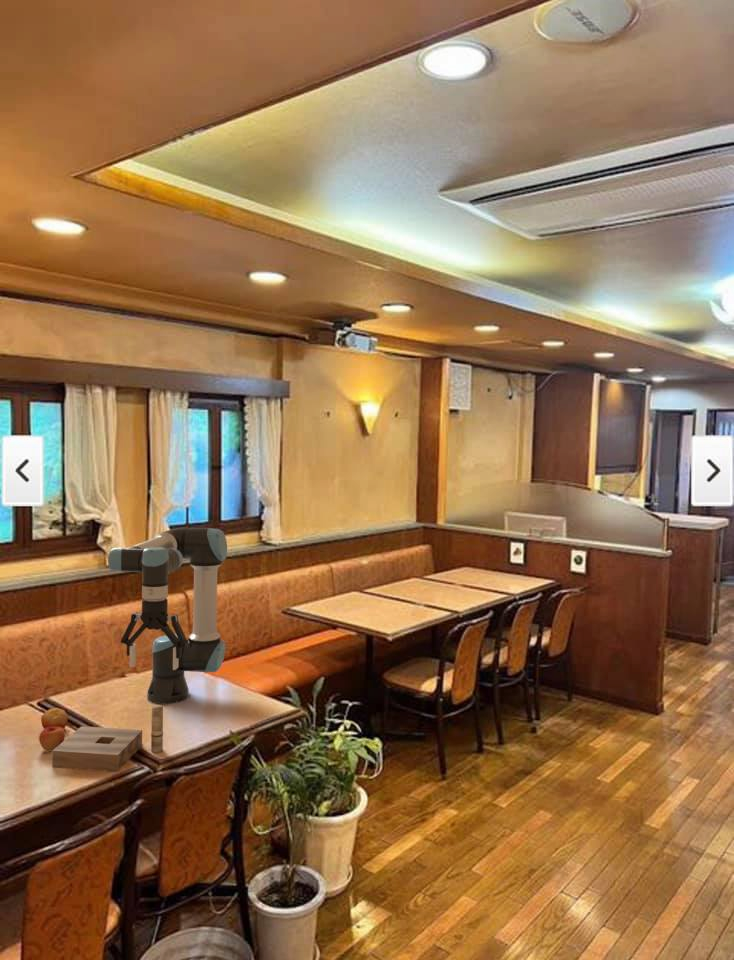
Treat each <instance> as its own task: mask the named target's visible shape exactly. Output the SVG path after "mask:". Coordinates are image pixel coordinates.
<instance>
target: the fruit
mask: <svg viewBox="0 0 734 960" xmlns="http://www.w3.org/2000/svg"><path fill="white" fill-rule="evenodd" d="M68 717H69V716H68V714H67V712H66V711H65V710H64V709H62V708H58V707H52V708H50V709H48V710H46V711H45V712H44V713H43V714H42V715H41V718H40V719H41V721H40V722H41V725H42V728H43V730H44V729H45V728H47V725H48V727H61V728H63V729H64V730H65V728H66V727H67V725H68Z"/></svg>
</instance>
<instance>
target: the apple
mask: <svg viewBox="0 0 734 960" xmlns="http://www.w3.org/2000/svg"><path fill="white" fill-rule="evenodd" d="M65 738H66V733H65V728H64V729H63V728H61V727H48V725H47V728H45V729H44V728H43V730H41V731H40V733H39V738H38V740H39V743H40V746H41V748H42V749H43V750H44V751H46V752H49V751H53V750H54V749H55V748H56V747H57V746H59V745H60V744H61V743H62V742H63V741H65V740H66V739H65Z"/></svg>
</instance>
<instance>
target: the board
mask: <svg viewBox="0 0 734 960" xmlns="http://www.w3.org/2000/svg"><path fill="white" fill-rule="evenodd" d="M142 746H143V729H134V728H133V729H131V728H129V729H128V728H118V727H117V728H115V727H100V726H99V727H98V726H85V725H84V726H83V725H82V726H80V727H79V728H78V729H77V730H76V731H74V732H73V733H72V734H71V735H70V736H68V737H67V738H66V739H64V741H63V742H62V743H61V744H60V745H59V746H57V747H56V748H55V749H54V750H51V751H52V753H51V754H52V755H51V757H52V758H51V760H52V762H51V767H52V768H56V769H57V768H58V769H71V768H74V770H86V769H91V770H90V771H101V770H106V772H116V773H118V772H119V771H121V769H122V768H123V767H124V766H125V764H126V763H128V761H129V760H130V759H131V758H132V757H133V756H134V755H135V754H136V753H137V752H138V751H139V749H140V748H141V747H142ZM75 768H77V769H75Z"/></svg>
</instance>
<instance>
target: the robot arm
mask: <svg viewBox="0 0 734 960" xmlns="http://www.w3.org/2000/svg"><path fill="white" fill-rule="evenodd" d="M227 554H228V543H227V538H226V535H225V532H224V531H223V530H221V529H218V528H212V527H177V528H176V527H175V528H172V529H168V530H165V531H163V532H159V533H157V534H156V535H155V536H154V537H153V538H152V539H149V540H146V541H143V542H140V543H137V544H135V545H134V544H133V546H129V547H123V546H120V547H113V548H112V549H110V551H109V553H108V558H107V565H108V567H109V569H110V570H111V571H113V572H120V573H122V572H125V573H126V572H127V573H129V572H131V573H132V572H133V573H141V574H142V575H141V578H142V579H141V580H142V581H141V598H142V600H141V614H140V613H139V612H133V613H132V614H131V616H130V622H129V624H128V625H127V628H126V630H125V632H124V633H123V636H122V637H121V639H120V643H121V644H124V645H126V656H127V657H128V656H129V664H128V665H129V666H128V667H129V668H133V667H134V666H136V661H137V660H136V659H137V657H136V654H137V652H136V649H137V648H136V646H137V645H136V643H134V642H135V641H137V639H138V637H140V635H141V634H142V633H143V632H144V631H145V630H146V629H148V630H156V631H159V630H161V632H162V633H164V634H165V635H161V636H159V637H157V638H156V639H155V640H154V641H153V643H152V650H151V652H152V660H151V661H152V663H151V664H152V665H151V666H152V667H151V668H152V676H151V680H150V683H149V686H148V689H147V691H146V694H147V695H146V699H147V700H148V701H149V702H151V703H155V704H159V705H165V704H174V703H180V702H181V701H184V700H186V699H188V698H189V696H190V695H189V694H190V693H189V692H190V691H189V690H190V689H189V687H188V683H187V680H186V677H185V672H195V673H196V672H198V673H205V674H207V673H216V672H218V671H219V670H220V668H221V666H222V665H223V661H224V659H225V654H226V643H225V641H224V640H221V634H220V633H219V632H218V631H217V622H218V621H217V615H218V612H217V611H218V609H217V608H218V569H219V568H220V567H221V566H222V565H223V564H222V562H223V561H225V560H226V558H227V556H228V555H227ZM183 559H185V560H189V565H190V567H192V569H193V614H192V615H193V617H192V619H193V620H192V621H193V622H192V632H190V633H191V634H190V635H188V639H187V637H186V635H185V633H184V630H183V628H182V627H181V624H180V622H179V616H178V614H176V613H175V614H173V615H169V614H168V606H169V605H168V595H169V594H168V593H169V590H168V589H169V574H172V573H174V572H176V571H178V569H180V568H181V566H182V565H183ZM139 620H141V622H142V624H141V625H140V627H138V629H137V630H136V631H135V633H134V634H133V635H132V636H131V634H132V632H133V630H134V629H135V626H136V624H137V623H138V621H139ZM168 621H169V623H171V626H172V628H173V630H174V631H173V630H172V629H171V627H170V625H169V624H168ZM130 636H131V637H130Z"/></svg>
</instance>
